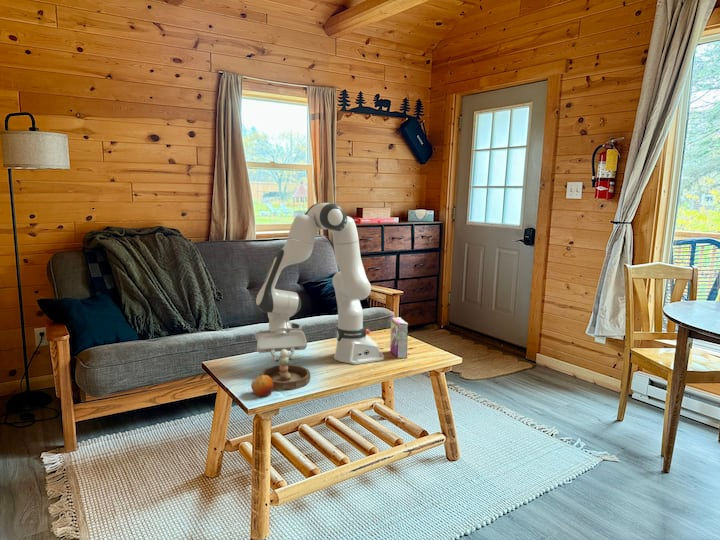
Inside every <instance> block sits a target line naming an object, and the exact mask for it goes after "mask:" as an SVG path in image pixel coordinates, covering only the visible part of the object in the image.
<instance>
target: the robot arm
mask: <svg viewBox="0 0 720 540" xmlns="http://www.w3.org/2000/svg"><path fill="white" fill-rule="evenodd" d="M320 230H330V233H331V234H332V241H333V242H332V243H333V250H334V257H335V263H336V264H337V267H338V269H339V271H337V272H336V273H334V275H333V277H332V280H331V281H332V282H331V283H332V286H333V288H334V293H335V299H336V305H337V327H336V349H335V352H334V355H333V359H335V360H336V361H337V362H341V363H345V364H350V365H361V364H366V363H367V364H368V363H373V362H378V361H379V362H380V361H384V360H385V355H384V354H383V352H381V351H380V349H379V345H378V343H377V341H375V340H374V339H373V338H371V337H370V336H369V335H370V333H371V330H370V329H368V328H366V327H364V325H363V324H364V322H363V321H364V311H363V307H362V304H361V301H363V300H366V299H367V298H368V297H369V296H370V295H371V291H372V285H371V283H370V281H369V280H368V277H367V275H366V274H367V273H366V270H365V267H364V264H363V261H362V257H361V248H360V241H359V240H360V239H359V233H358V229H357V225H356V221H355V220H354V218H352V217H351V216H348V215H346V213H345V211H344V210H343V208H342V207H341V206H340V205H338V204H336V203H330V202H322V203H319V202H318V203H315V204H313V205H311V206H310V207H309V208H308V209H307V211H306V212H305V213H304V214H303V213H302V214H299V215H296V216H295V217H294V219H293V221H292V224H291V226H290V228H289V233H288V236H287V238H286V239H287V240H286V242H285V244H284V245H283V247H282V248H281V249H279V250H277V251H276V253H275V255H274V257H273V258H272V261H271V262H270V266H269V268H268V270H267V272H266V275H265V278H264V280H263V283H262V284H261V287H260V289H259V291H258V293H257V294H256V299H255V305H256V306H257V308H258V309H259V310H260V312H262V313H267V317H268V328H269V329H268V330H258V332H256V333H255V334H254V337H255V338H254V339H255V340H256V351H257V352H258V353H259V354H262V353H263V354H264V353H265V354H266V353H270V355H271V357H273V361H274V362H279V355H276V353H277V352H278V353H280V352H281V350H283V349H286V350H287V351H288V352H290V354H288V356H289V361H293V360H294V354H295V351H303V350H306V349H307V346H308V341H307V337H306V334H305V332H304V331H303V330H302V329H303V325H302V324H300V323H294V322H292V321H290V318H291V317H293V316H295V315H296V314H297V313H298V312H299V311H300V310H301V308H302V300H301V297H300V295H299V294H298V292H296V291H290V290H282V289H279V288H276V284H277V282H278V279H279V277H280V275H281V272H282V270H283V269H284V268H286V267H288V266H290V265H296V264H300V263H303V262H305V261H307V260H308V259H309V258H310V257H311V256H312V252H313V249H314V246H315V242H316V241H315V240H316V237H317V234H318V232H319V231H320Z"/></svg>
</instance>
